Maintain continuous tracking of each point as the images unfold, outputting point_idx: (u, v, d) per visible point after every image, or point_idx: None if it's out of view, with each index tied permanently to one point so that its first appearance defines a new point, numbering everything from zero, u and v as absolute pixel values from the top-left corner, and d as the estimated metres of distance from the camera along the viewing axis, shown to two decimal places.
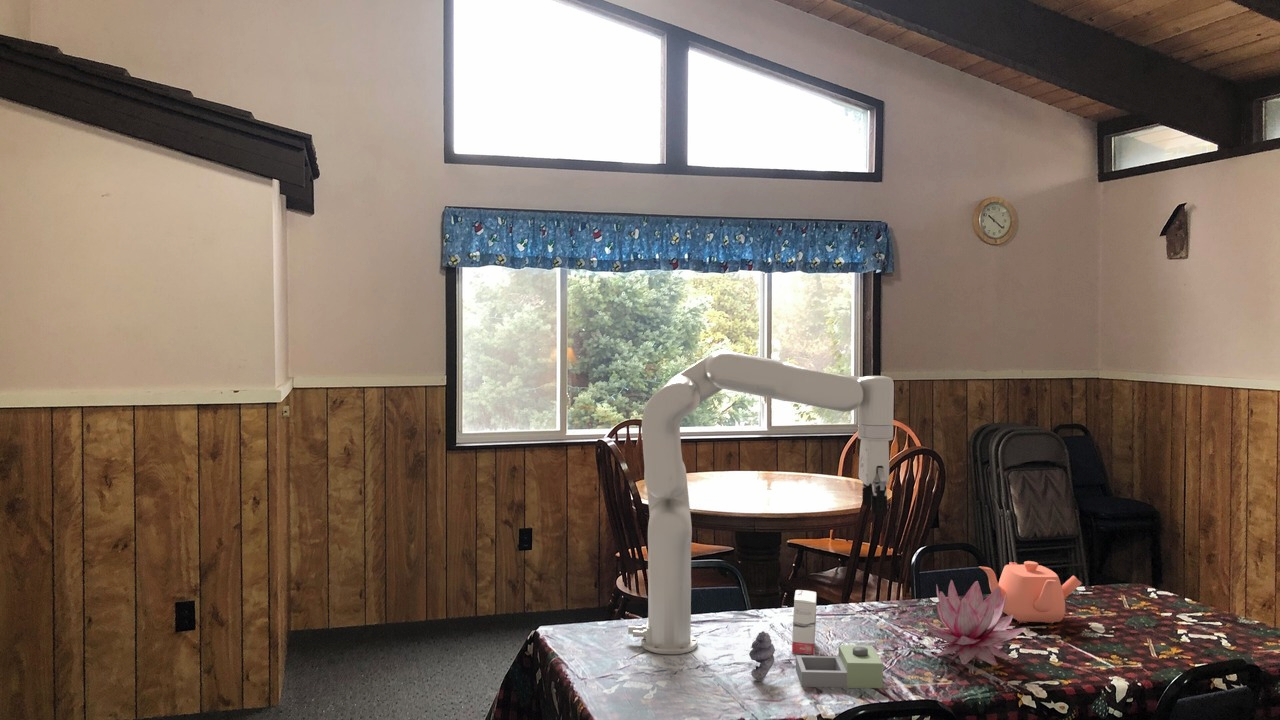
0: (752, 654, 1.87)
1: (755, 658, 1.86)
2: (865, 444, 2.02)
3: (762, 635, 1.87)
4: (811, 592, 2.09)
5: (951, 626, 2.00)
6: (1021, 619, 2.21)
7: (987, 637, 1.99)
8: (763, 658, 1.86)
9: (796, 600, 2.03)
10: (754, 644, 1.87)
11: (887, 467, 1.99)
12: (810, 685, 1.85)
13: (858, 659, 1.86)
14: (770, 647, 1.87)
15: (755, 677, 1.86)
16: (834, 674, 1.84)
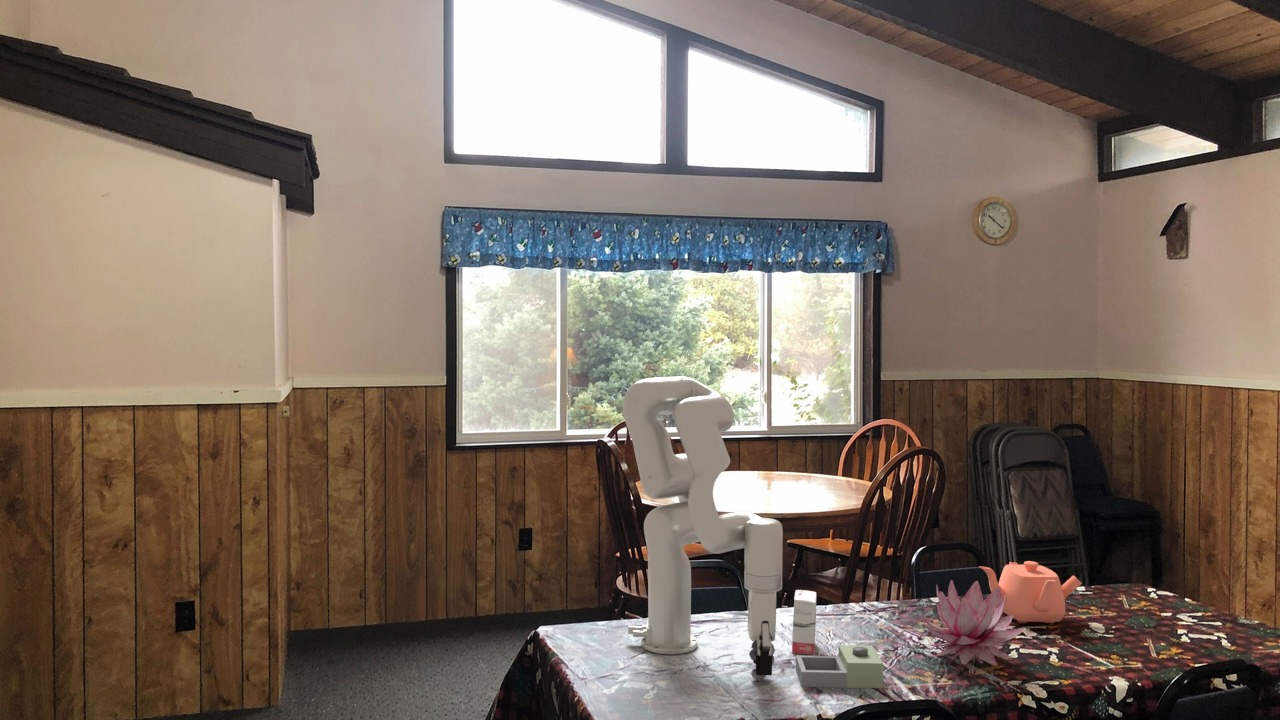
0: (752, 654, 1.87)
1: (755, 658, 1.86)
2: (750, 595, 1.85)
3: None
4: (811, 592, 2.09)
5: (951, 626, 2.00)
6: (1021, 619, 2.21)
7: (987, 637, 1.99)
8: None
9: (796, 600, 2.03)
10: (754, 644, 1.87)
11: (773, 622, 1.83)
12: (810, 685, 1.85)
13: (858, 659, 1.86)
14: None
15: (755, 677, 1.86)
16: (834, 674, 1.84)
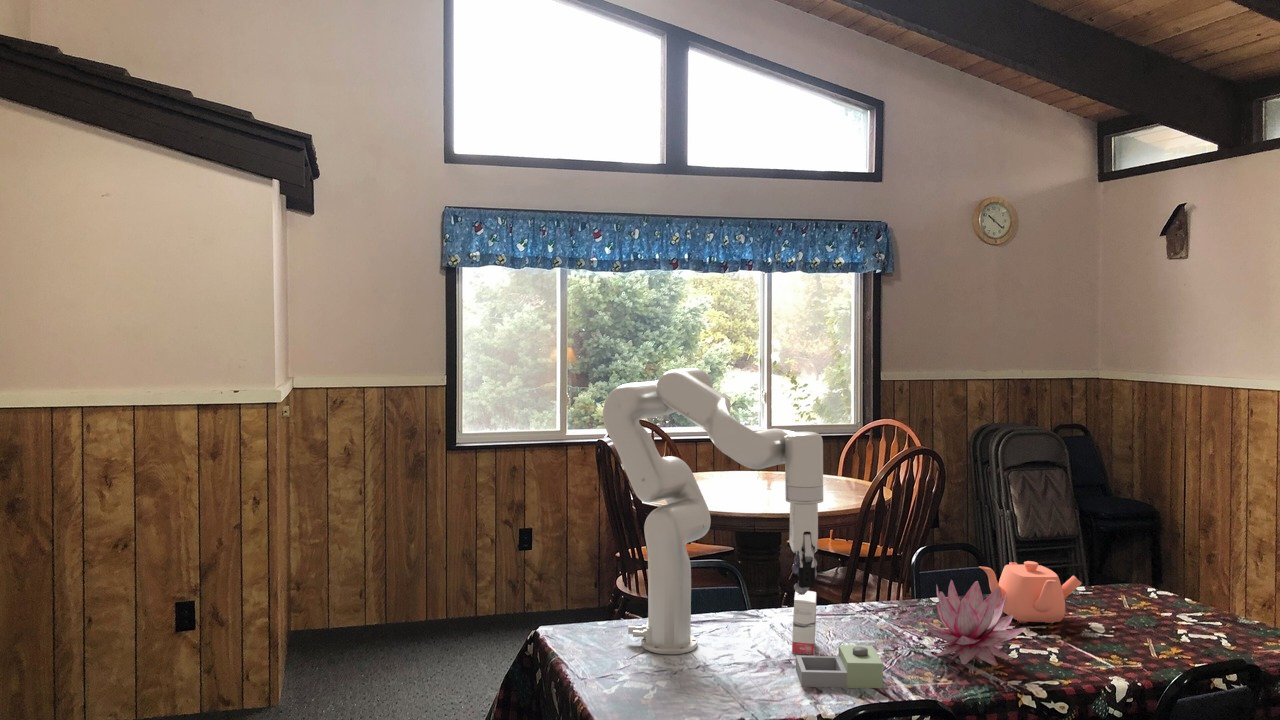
0: (795, 567, 1.86)
1: (797, 571, 1.86)
2: (792, 507, 1.85)
3: (804, 549, 1.87)
4: (811, 592, 2.09)
5: (951, 626, 2.00)
6: (1021, 619, 2.21)
7: (987, 637, 1.99)
8: None
9: (796, 600, 2.03)
10: (796, 557, 1.86)
11: (815, 533, 1.82)
12: (810, 685, 1.85)
13: (858, 659, 1.86)
14: None
15: (798, 590, 1.86)
16: (834, 674, 1.84)
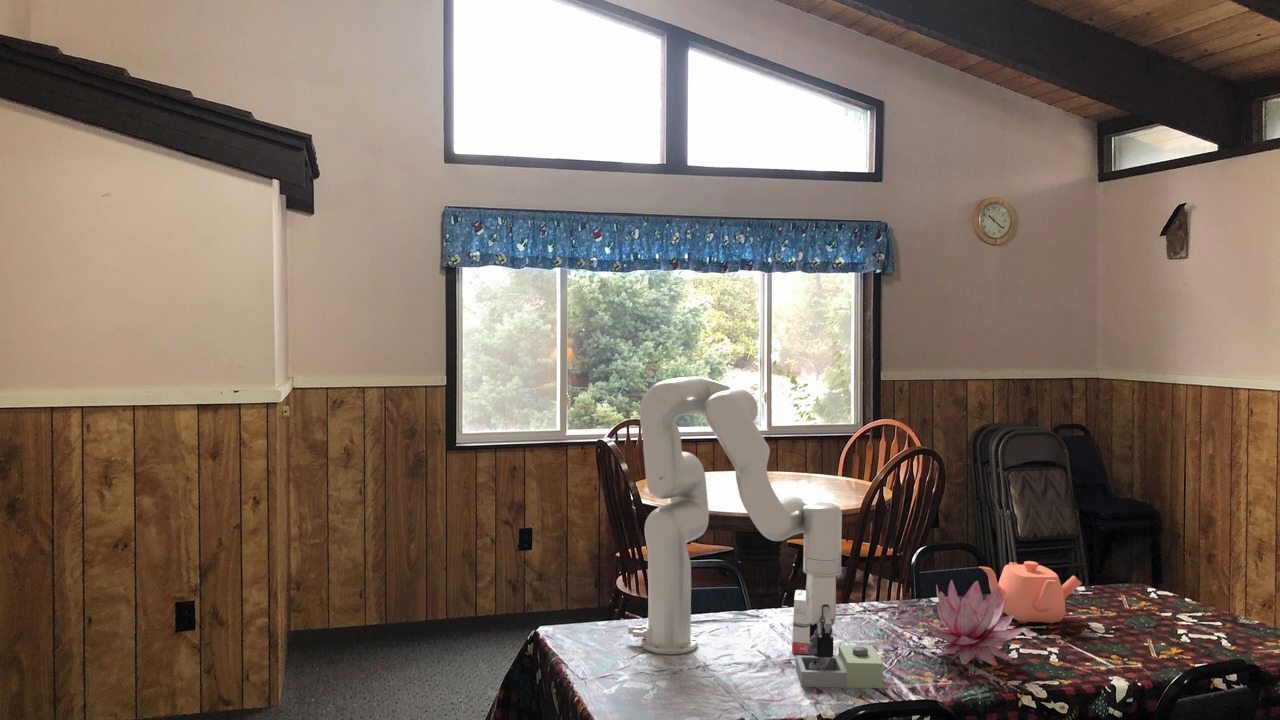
0: (811, 648, 1.88)
1: (813, 652, 1.88)
2: (810, 579, 1.86)
3: None
4: None
5: (951, 626, 2.00)
6: (1021, 619, 2.21)
7: (987, 637, 1.99)
8: None
9: (796, 600, 2.03)
10: (812, 638, 1.89)
11: (833, 606, 1.83)
12: (810, 685, 1.85)
13: (858, 659, 1.86)
14: None
15: None
16: (834, 674, 1.84)
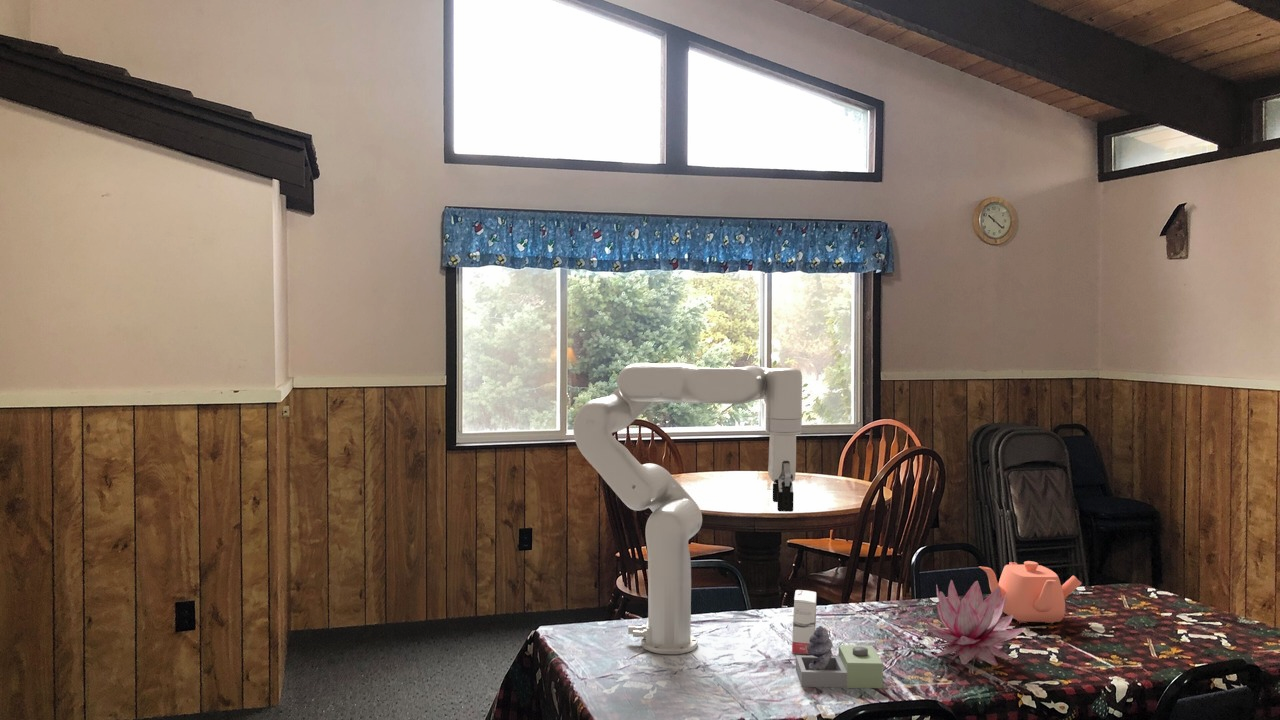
0: (810, 648, 1.88)
1: (813, 652, 1.88)
2: (772, 438, 1.94)
3: (819, 630, 1.89)
4: (811, 592, 2.09)
5: (951, 626, 2.00)
6: (1021, 619, 2.21)
7: (987, 637, 1.99)
8: (821, 652, 1.88)
9: (796, 600, 2.03)
10: (812, 639, 1.89)
11: (793, 462, 1.92)
12: (810, 685, 1.85)
13: (858, 659, 1.86)
14: (828, 642, 1.89)
15: None
16: (834, 674, 1.84)
